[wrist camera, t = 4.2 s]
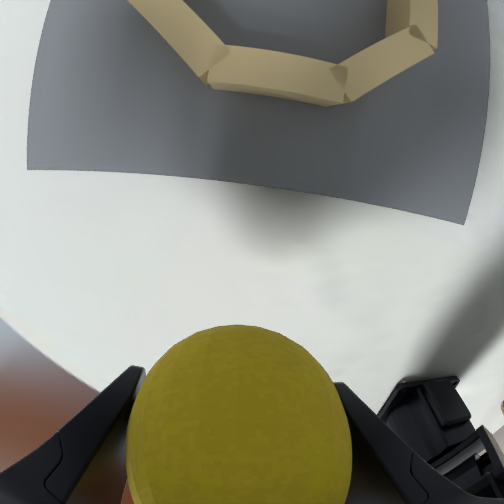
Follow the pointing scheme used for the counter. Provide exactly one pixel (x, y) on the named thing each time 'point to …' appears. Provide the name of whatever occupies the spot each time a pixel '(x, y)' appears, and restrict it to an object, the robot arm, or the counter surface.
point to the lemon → (238, 424)
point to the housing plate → (270, 95)
